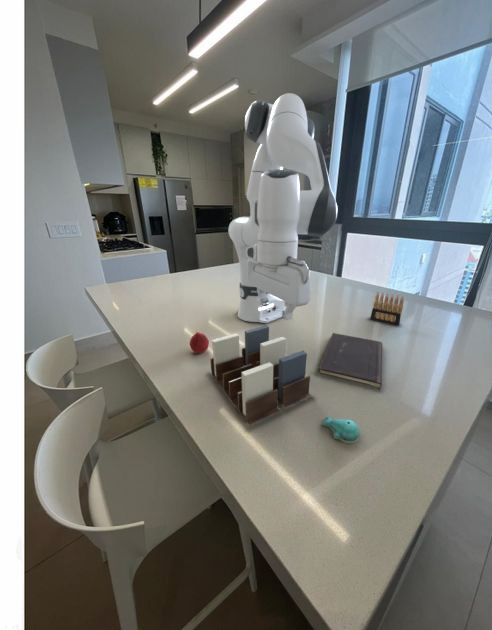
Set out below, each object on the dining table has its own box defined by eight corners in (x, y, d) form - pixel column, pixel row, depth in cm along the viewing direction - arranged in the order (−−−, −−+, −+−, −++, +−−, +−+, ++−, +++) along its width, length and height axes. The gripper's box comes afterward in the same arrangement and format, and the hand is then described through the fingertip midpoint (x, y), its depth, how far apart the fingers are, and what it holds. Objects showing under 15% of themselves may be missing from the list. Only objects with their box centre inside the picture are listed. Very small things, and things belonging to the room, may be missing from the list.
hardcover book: (318, 375, 72) (318, 368, 71) (332, 338, 92) (332, 332, 91) (380, 390, 66) (382, 383, 66) (381, 348, 86) (382, 341, 85)
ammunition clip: (369, 319, 106) (375, 291, 102) (370, 318, 108) (376, 290, 103) (398, 326, 101) (405, 297, 96) (399, 324, 102) (406, 295, 97)
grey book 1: (265, 357, 79) (266, 325, 74) (268, 360, 77) (269, 327, 73) (245, 364, 75) (244, 330, 71) (248, 367, 74) (247, 333, 70)
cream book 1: (237, 367, 74) (236, 333, 70) (240, 370, 73) (239, 335, 68) (214, 375, 71) (211, 339, 66) (217, 378, 69) (214, 342, 65)
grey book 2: (300, 387, 66) (303, 350, 62) (303, 390, 65) (307, 353, 60) (277, 397, 63) (278, 358, 58) (281, 401, 62) (282, 361, 57)
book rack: (263, 356, 81) (263, 339, 78) (311, 398, 64) (313, 378, 61) (210, 374, 72) (208, 356, 70) (249, 428, 55) (248, 406, 53)
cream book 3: (281, 371, 72) (282, 336, 68) (284, 374, 71) (286, 338, 67) (260, 379, 69) (260, 343, 64) (263, 382, 68) (263, 346, 63)
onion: (213, 350, 84) (211, 328, 81) (203, 360, 79) (201, 336, 76) (197, 347, 86) (194, 325, 83) (187, 356, 81) (184, 333, 78)
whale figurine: (350, 452, 50) (353, 438, 48) (317, 432, 54) (318, 418, 53) (362, 434, 54) (365, 420, 52) (330, 416, 58) (332, 403, 57)
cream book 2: (268, 401, 61) (269, 362, 57) (272, 405, 60) (273, 365, 56) (242, 412, 58) (241, 372, 54) (246, 417, 57) (244, 375, 53)
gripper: (321, 260, 50) (314, 324, 56) (264, 246, 66) (263, 297, 72) (295, 263, 47) (291, 331, 53) (242, 248, 63) (243, 301, 69)
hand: (274, 311), depth 62 cm, fingers open, 8 cm apart
